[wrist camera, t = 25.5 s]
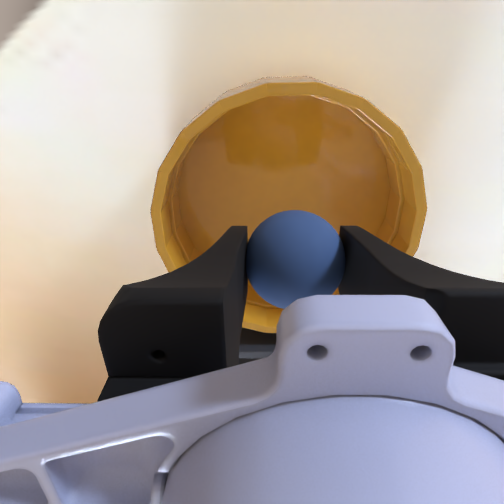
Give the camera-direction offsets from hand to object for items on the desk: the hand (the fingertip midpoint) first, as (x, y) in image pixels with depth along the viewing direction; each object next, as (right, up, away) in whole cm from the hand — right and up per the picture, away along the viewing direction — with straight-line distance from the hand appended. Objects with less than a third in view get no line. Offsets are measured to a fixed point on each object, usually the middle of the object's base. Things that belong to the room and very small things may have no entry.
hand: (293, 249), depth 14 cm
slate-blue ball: (0, 0, -1) cm, 1 cm away
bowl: (0, +3, +7) cm, 8 cm away
